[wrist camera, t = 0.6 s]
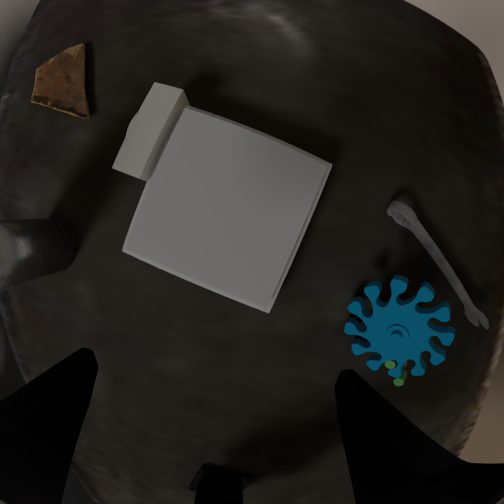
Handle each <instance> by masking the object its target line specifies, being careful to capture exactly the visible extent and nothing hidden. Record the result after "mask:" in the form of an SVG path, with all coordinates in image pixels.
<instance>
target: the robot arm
mask: <svg viewBox="0 0 504 504" xmlns="http://www.w3.org/2000/svg"><path fill="white" fill-rule="evenodd" d="M97 372H98V363H97V361H96V358H95V355H94V352H93V351H92V350H91V349H88V348H84V347H83V348H80V349H79V350H77V351H76V352H74V353H73V354H71V355H70V356H68V357H67V358H65V359H63V360H62V361H60V362H59V363H57V364H56V365H54V366H53V367H51V368H50V369H48V370H47V371H45V372H44V373H42V374H41V375H39V376H38V377H36V378H35V379H33V380H32V381H30V382H29V383H27V384H26V385H24V386H23V387H21V388H20V389H18V390H17V391H15V392H13V393H12V394H10V395H9V396H7V397H6V398H4V399H3V400H1V401H0V504H61V503H62V498H63V493H64V488H65V484H66V480H67V476H68V472H69V468H70V464H71V461H72V457H73V454H74V450H75V447H76V443H77V440H78V437H79V434H80V431H81V428H82V424H83V421H84V418H85V416H86V413H87V410H88V407H89V404H90V400H91V396H92V392H93V388H94V384H95V380H96V376H97ZM335 396H336V405H337V413H338V422H339V427H340V432H341V436H342V440H343V445H344V449H345V454H346V458H347V463H348V467H349V472H350V477H351V481H352V486H353V491H354V496H355V501H356V504H504V463H500V464H484V463H481V464H480V463H469V462H466V461H464V460H462V459H460V458H458V457H457V456H455V455H454V454H452V453H451V452H449V451H448V450H446V449H445V448H444V447H442V446H441V445H439V444H438V443H436V442H435V441H434V440H432V439H431V438H430V437H429V436H427V435H426V434H425V433H424V432H422V431H421V430H420V429H419V428H418V427H417V426H414V424H413V423H412V422H411V421H410V420H409V419H408V418H406V417H405V416H404V415H403V414H402V413H401V412H400V411H399V410H397V409H396V408H395V407H394V406H393V405H392V404H391V403H390V402H389V401H387V400H386V399H385V398H384V397H383V396H382V395H381V394H380V393H379V392H377V391H376V390H375V389H374V388H373V387H372V386H371V385H370V384H369V383H368V382H366V381H365V380H364V379H363V378H362V377H361V376H360V375H359V374H358V373H357V372H355V371H354V370H353V369H344V370H342V371H341V372H340V374H339V377H338V379H337V381H336V383H335ZM252 480H253V479H252V476H249V475H244V474H239V473H234V472H230V471H226V470H221V469H217V468H213V467H210V466H205V465H203V466H202V467H201V468H200V470H199V471H198V473H197V475H196V476H195V478H194V479H193V481H192V482H191V484H190V486H189V489H190V490H193V491H196V494H195V502H194V504H243V490H244V489H245V488H246V487H247V486H248V485H249V483H250V482H251V481H252Z"/></svg>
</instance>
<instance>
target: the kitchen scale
mask: <svg viewBox="0 0 504 504" xmlns="http://www.w3.org/2000/svg"><path fill="white" fill-rule="evenodd" d="M331 167H332V164H330V163H328V162H326V161H324V160H322V159H320V158H318V157H316V156H314V155H312V154H310V153H308V152H306V151H304V150H302V149H299V148H297V147H295V146H293V145H291V144H288V143H286V142H284V141H282V140H279V139H277V138H275V137H272V136H270V135H268V134H265V133H263V132H260V131H258V130H255V129H253V128H250V127H248V126H245V125H243V124H240V123H237V122H235V121H232V120H229V119H227V118H224V117H221V116H218V115H215V114H212V113H210V112H207V111H204V110H201V109H198V108H194V107H191V106H190V104H189V102H188V100H187V97H186V95H185V93H184V91H183V89H179V88H175V87H172V86H168V85H164V84H160V83H156V82H155V83H154V84H153V86H152V88H151V90H150V91H149V93H148V95H147V97H146V98H145V100H144V102H143V104H142V106H141V108H140V109H139V111H138V112H137V114H136V115H135V116H134V117H133V119H132V120H131V122H130V123H129V127H128V129H127V133H126V137H125V140H124V142H123V144H122V146H121V148H120V150H119V153H118V155H117V157H116V160H115V162H114V164H113V167H112V168H113V169H116V170H118V171H121V172H124V173H126V174H129V175H131V176H134V177H136V178H139V179H142V180H144V181H147V184H146V186H145V189H144V191H143V194H142V196H141V199H140V201H139V204H138V206H137V209H136V212H135V214H134V217H133V220H132V223H131V225H130V228H129V231H128V234H127V237H126V240H125V243H124V246H123V249H122V251H123V252H125V253H127V254H130V255H132V256H134V257H136V258H138V259H140V260H143V261H145V262H147V263H149V264H151V265H154V266H156V267H158V268H160V269H162V270H165V271H167V272H169V273H172V274H174V275H176V276H178V277H181V278H183V279H185V280H188V281H190V282H192V283H195V284H197V285H199V286H202V287H204V288H207V289H209V290H211V291H214V292H216V293H219V294H221V295H224V296H226V297H229V298H231V299H234V300H236V301H239V302H241V303H244V304H246V305H249V306H251V307H254V308H256V309H259V310H262V311H264V312H267V313H269V312H270V310H271V308H272V305H273V303H274V301H275V299H276V297H277V294H278V292H279V290H280V288H281V286H282V283H283V281H284V279H285V277H286V275H287V272H288V270H289V268H290V266H291V263H292V261H293V259H294V256H295V254H296V252H297V250H298V247H299V245H300V243H301V240H302V238H303V236H304V233H305V231H306V229H307V226H308V224H309V221H310V219H311V217H312V214H313V212H314V209H315V207H316V205H317V202H318V200H319V197H320V195H321V192H322V190H323V187H324V185H325V182H326V180H327V177H328V175H329V172H330V170H331Z"/></svg>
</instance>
